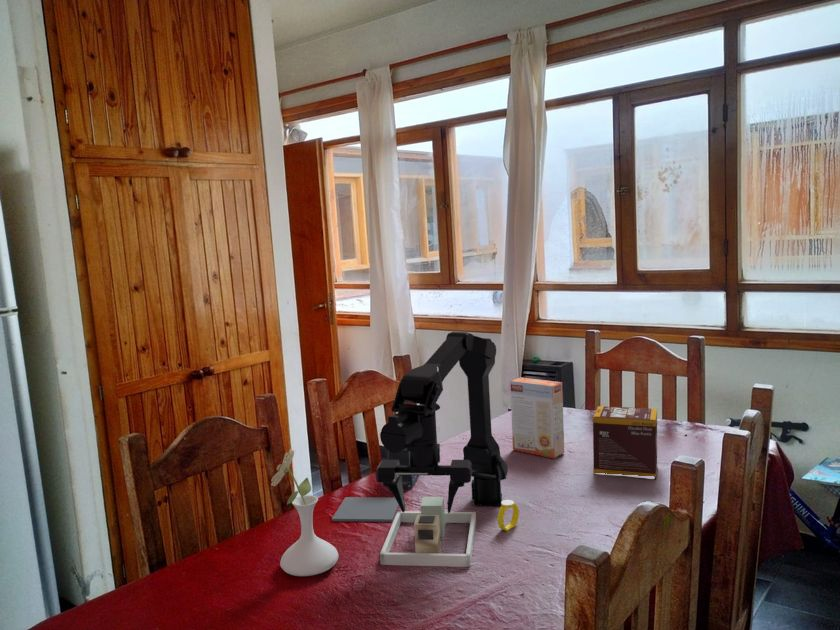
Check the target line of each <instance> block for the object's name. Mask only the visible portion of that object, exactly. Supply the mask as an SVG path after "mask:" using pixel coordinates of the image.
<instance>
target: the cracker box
mask: <svg viewBox="0 0 840 630" xmlns="http://www.w3.org/2000/svg"><path fill="white" fill-rule="evenodd" d="M563 393H564V392H563V382H562V381H554V380H545V379H540V378H530V377H522V376H521V377H518V378H514V379H512V380H510V403H511V404H510V407H511V410H510V411H511V431H512V432H511V434H512V435H511V436H512V438H511V439H512V450H513V451H516V450H517V451H516V452H520V451H522V453H525V452H526V453H525V454H530V453H531V454H530V455H535V454H536V455H535V456H539V455H540V457H545V458H548V457H549V458H550V459H553V458H555V459H556V458H558V457H560V456H562V455H564V454H565V433H564V432H565V431H564V430H565V429H564V426H565V425H564V395H563ZM563 453H564V454H563ZM561 454H562V455H561ZM559 455H560V456H559Z"/></svg>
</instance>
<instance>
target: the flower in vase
mask: <svg viewBox="0 0 840 630" xmlns="http://www.w3.org/2000/svg"><path fill="white" fill-rule="evenodd" d="M294 455H295V449H292V448H290V449H289V451H288V452H285V454H284V456H283V460H282V464H278V465H277V467H276V471H277V472H276V473H275V475H274V476H273V477H272V478H271V481H270V482H271V483H270V485H271V487H272V486H273V487H276V486H277V485H278V484H279V483H280V482H281V481H282V480H283V477H284V476H285V474H286V473H289V475H290V476H291V478H292V479H293V480H292V481H294V484H295V485H296V488H297V490H296V491H294V492H293V493H292V494H291V495H290V496H289V498H288V500H287V502H286V503H287V504H286V505H289V504H292V505H293V506H294V507H295V509H296V511H297V512H298V515H299V516H298V517H299V519H300V528H301V532H300V537H299V538H298V539H297V540H296V542H294V543H293V544H291V545H290V546H289V547H288V548H287V549H286V550H285V552H284V553H283V554H282V556H281V559H280V560H279V561H280V562H279V564H280V565H279V566H280V568H281V569H282V570H283V571H284V572H285V573H287V574H288V575H291V576H295V577H310V576H315V575H319V574H322V573H324V572H327V571H329V570H330V569H331V568H332V567H334V566H335V565H336V563H338V562H337V561H339V552H338V549H337V548H336V547H335V546H334V545H333V544H331V542H328V541H326V540H324V539H322V538H320V537H318V536H317V535H316V534H315V532H314V531H315V530H314V527H313V526H314V525H313V524H314V523H313V519H314V518H313V516H314V515H313V514H314V508H315V507H316V504H317V502H318V501H319V498H318V496H315V495H312V494H309V493H310V492H311V491H312V486H311V483H310V480H309V478H308V477H306V478H305V479H303V481H301V483H300V484H298V482H297V480H296V478H295V476H294V475H293V473H292V471H291V470H290V466H291V464H292V461H293V458H294ZM298 494H299V495H300V496H298Z"/></svg>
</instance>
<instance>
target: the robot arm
mask: <svg viewBox="0 0 840 630" xmlns="http://www.w3.org/2000/svg"><path fill="white" fill-rule="evenodd" d="M445 338H446V339H445V340H444V341H443V342H442V343H441V345H440V346H439V347H438V348H437V349H436V351H434V352H433V354H432V355H431V356H430V357H429V358H428V360H427V361H426V362H425V363H424V364H422V365H420V366H417V367H414V368H412V369H411V370H409V371H408V372H406V373H405V374H404V375H402V378H401V379H400V381H399V385H398V387H397V390H396V393H395V397H394V400H393V403H392V406H391V409H390V410H391V413H394V414H390V415H389V416H388V417H387V423H385V424H384V425H383V426H382V428H381V430H380V433H379V438H380V441H381V444H382V446H383V447H384V449H386V450H387V452H388V451H390V452H392V453H398V452H401V451H402V450H404V449H406V454H407V455H409V464H410V465H403V466H400V462H399V460H388V459H382V460H381V461H380V462H379V464H378V466H377V467H376V469H375V482H376V483H378V484H380V483H381V484H382V486H383V487H387V488H388V489H389V491H390V492H391V494H392V495H393V498H395V499H396V501H397V502H398V504H399V508H400V511H402V512H405V511H406V501H405V493H404V488H403V486H402V475H419V476H449V483H448V496H447V512H448V513H450V512H452V506H453V503H454V500H455V496H456V495H457V492H458V490H459V488H462V487H463V488H464V487H465V484H469V483H471V485H470V486H471V499H472V501H473V506H477V507H478V506H484V507H485V506H486V507H487V506H488V507H489V506H490V507H491V506H492V507H493V506H495V507H496V506H497V507H499V506H500V507H502V506H501V502H502V501H503V493H502V480H506V479H507V475H508V471H509V470H508V469H509V466H508V464H507V463H506V462H505V460H504V458H503V457H502V456H501V450H500V445H499V444H498V442H497V441H496V439H495V438H494V436H493V434H492V418H491V416H492V414H491V413H492V412H491V398H490V397H491V396H490V379H489V378H490V377H489V375H490V373H491V372H492V369H493V368H494V365H495V363H496V355H497V345H496V344H495V342H494V341H492V339H491V338H490V337H489V338H488V337H487V338H484V337H481V336H478V335H474V334H472V333H470V332H468V331H451V332H449V333H447V335H446V337H445ZM458 363H459V367H460V368H461V370H462V371H463V373H464V375H465V376H466V379H467V394H468V395H467V396H468V411H469V428H470V429H469V431H470V438H469V440H468V441H467V444H466V445H465V446H464V447H463V449H462V452H463V453H462V454H463V459H451V462H450V465H447V464H446V465H444V464H443V465H439V464H440V463H441V444H440V443H438V438H437V437H438V436H437V435H438V434H437V417H436V416H437V415H436V411H439V410H440V409H441V406H440V404H438V403H437V401H438V400H439V398H440V396H441V394H442V393H443V390H444V386H443V385H444V384H443V381H444V380H445V378H447V376H448V375H449V373H451V371H452V370H453V368H454V367H455V366H456V365H457V364H458ZM472 478H473V479H472Z"/></svg>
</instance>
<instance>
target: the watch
mask: <svg viewBox="0 0 840 630" xmlns="http://www.w3.org/2000/svg"><path fill="white" fill-rule="evenodd" d="M511 508H512V517H511V520H510V522H509V524H507V525H506V526H505V523H504V522H505V521H504V520H505V519H504V518H505V514H506V511H507V510H508V509H511ZM519 516H520V510H519V507H518V505H517V504H516V503H515V501H514V500H512V499H504V500H503V499H502V502H501V506H500V508H499V511H498V514H497V524H498V527H499V529H501V530H502V531H506V532H509V531H510V530H511V529H513V528H515V527H516V526H517V523H518V521H519Z"/></svg>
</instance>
